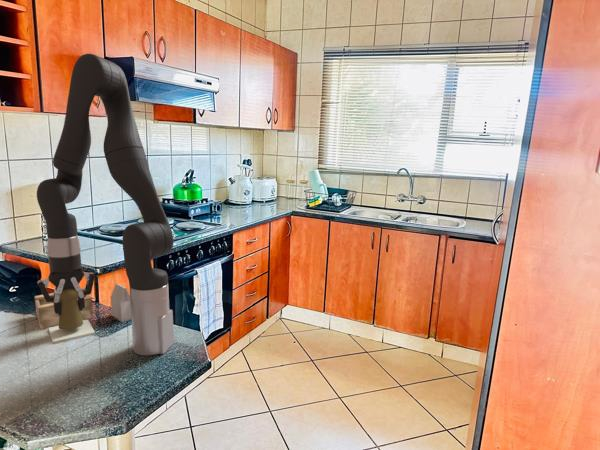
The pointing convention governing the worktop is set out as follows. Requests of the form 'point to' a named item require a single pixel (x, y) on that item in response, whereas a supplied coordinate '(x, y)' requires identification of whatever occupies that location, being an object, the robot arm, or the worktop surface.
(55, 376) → the worktop surface
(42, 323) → the open rectangular wooden frame
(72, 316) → the cork
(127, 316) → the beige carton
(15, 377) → the worktop surface
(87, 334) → the cream mat
